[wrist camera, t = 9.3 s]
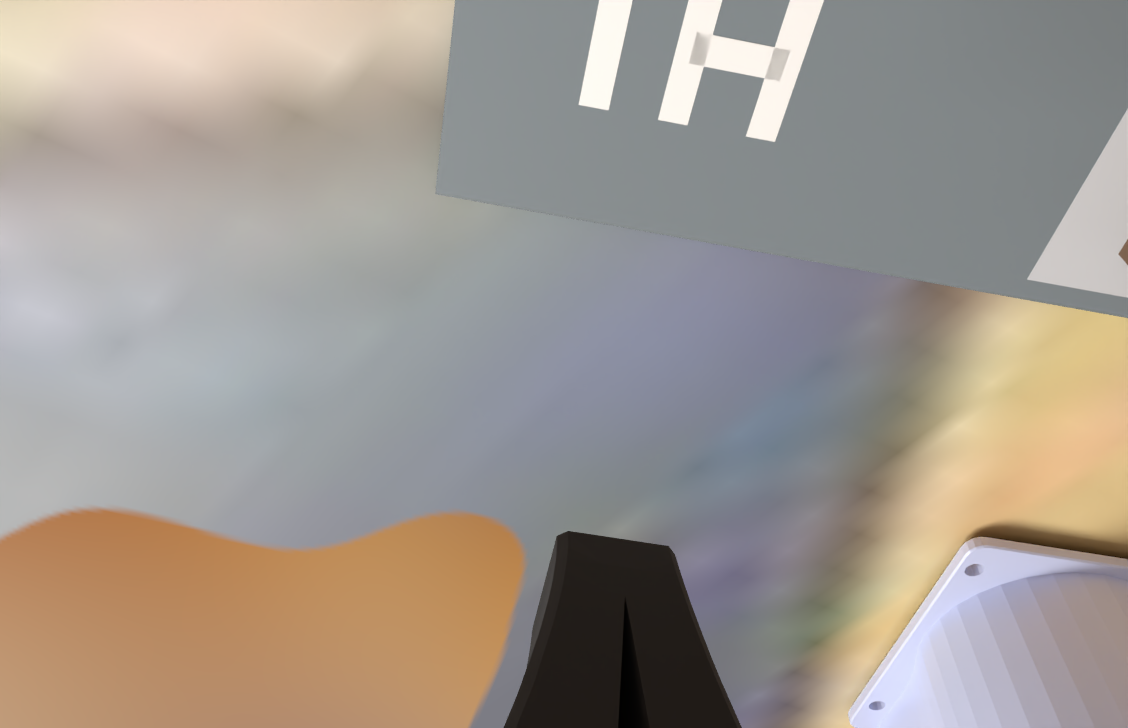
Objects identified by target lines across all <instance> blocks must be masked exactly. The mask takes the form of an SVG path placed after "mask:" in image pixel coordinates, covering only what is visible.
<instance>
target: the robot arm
mask: <svg viewBox="0 0 1128 728" xmlns="http://www.w3.org/2000/svg"><path fill="white" fill-rule="evenodd" d="M848 716H849V721H850V724H851V725H852V726H853V727H855V728H1128V559H1124V558H1117V557H1111V556H1104V555H1098V554H1092V553H1085V552H1079V551H1072V550H1066V549H1060V548H1053V547H1047V546H1040V545H1034V544H1027V543H1021V542H1015V541H1008V540H1002V539H995V538H989V537H976V538H972V539H970V540H968V541H966V542H965V543H964V544H963V545H962V546H961V548H960V549H959V551H958V552H957V554H956V555H955V556H954V558H953V559H952V561H951V562H950V564H949V565H948V567H947V568H946V570H945V571H944V573H943V574H942V575H941V577H940V578H939V580H938V581H937V583H936V584H935V586H934V587H933V589H932V590H931V591H930V593H929V594H928V596H927V597H926V599H925V600H924V602H923V603H922V605H921V606H920V608H919V609H918V610H917V612H916V613H915V615H914V616H913V618H912V619H911V621H910V622H909V624H908V625H907V626H906V628H905V629H904V631H903V632H902V634H901V635H900V637H899V638H898V640H897V641H896V643H895V644H894V645H893V647H892V648H891V650H890V651H889V653H888V654H887V656H886V657H885V659H884V660H883V661H882V663H881V664H880V666H879V667H878V669H877V670H876V672H875V673H874V675H873V676H872V678H871V679H870V680H869V682H868V683H867V685H866V686H865V688H864V689H863V691H862V692H861V694H860V695H859V696H858V698H857V699H856V701H855V702H854V704H853V705H852V707H851V708H850V710H849V712H848ZM504 728H742V727H741V725H740V723H739V721H738V718H737V716H736V714H735V711H734V709H733V707H732V705H731V702H730V700H729V698H728V696H727V693H726V691H725V689H724V687H723V684H722V682H721V680H720V677H719V675H718V672H717V670H716V668H715V665H714V663H713V660H712V658H711V655H710V653H709V650H708V648H707V645H706V642H705V640H704V637H703V635H702V632H701V630H700V627H699V624H698V622H697V619H696V616H695V613H694V611H693V608H692V605H691V602H690V600H689V597H688V594H687V591H686V588H685V585H684V582H683V579H682V576H681V573H680V570H679V567H678V563H677V560H676V557H675V554H674V553H673V551H672V550H671V549H670V548H669V546H664V545H657V544H651V543H644V542H637V541H631V540H624V539H618V538H611V537H604V536H598V535H591V534H584V533H578V532H571V531H567V532H565V533H563V534H560V535H558V536H557V538H556V541H555V545H554V549H553V553H552V557H551V560H550V564H549V568H548V572H547V576H546V579H545V583H544V587H543V591H542V595H541V598H540V602H539V606H538V610H537V614H536V617H535V621H534V625H533V630H532V638H531V646H530V652H529V658H528V664H527V669H526V672H525V675H524V678H523V681H522V684H521V686H520V689H519V692H518V694H517V697H516V699H515V702H514V704H513V707H512V709H511V712H510V714H509V716H508V719H507V721H506V723H505V726H504Z"/></svg>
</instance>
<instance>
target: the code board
mask: <svg viewBox="0 0 1128 728" xmlns="http://www.w3.org/2000/svg"><path fill="white" fill-rule="evenodd" d="M436 194H438V195H444V196H449V197H455V198H460V199H466V200H471V201H477V202H483V203H488V204H494V205H499V206H505V207H511V208H516V209H522V210H527V211H533V212H539V213H544V214H550V215H555V216H561V217H567V218H572V219H578V220H583V221H589V222H594V223H600V224H606V225H611V226H617V227H622V228H628V229H634V230H639V231H645V232H650V233H656V234H662V235H667V236H673V237H678V238H684V239H690V240H695V241H701V242H706V243H712V244H717V245H723V246H729V247H734V248H740V249H745V250H751V251H757V252H762V253H768V254H773V255H779V256H785V257H790V258H796V259H801V260H807V261H813V262H818V263H824V264H829V265H835V266H840V267H846V268H852V269H857V270H863V271H868V272H874V273H880V274H885V275H891V276H896V277H902V278H908V279H913V280H919V281H924V282H930V283H936V284H941V285H947V286H952V287H958V288H963V289H969V290H975V291H980V292H986V293H991V294H997V295H1003V296H1008V297H1014V298H1019V299H1025V300H1031V301H1036V302H1042V303H1047V304H1053V305H1059V306H1064V307H1070V308H1075V309H1081V310H1086V311H1092V312H1098V313H1103V314H1109V315H1114V316H1120V317H1126V318H1128V265H1127V264H1126V262H1125V261H1124V260H1123V259H1122V258H1121V257H1120V256H1119V252H1120V250H1121V249H1122V247H1123V246H1124V244H1125V243H1126V241H1127V239H1128V0H455V8H454V18H453V28H452V37H451V47H450V57H449V67H448V76H447V86H446V96H445V106H444V115H443V125H442V135H441V145H440V154H439V164H438V174H437V184H436Z"/></svg>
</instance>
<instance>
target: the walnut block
mask: <svg viewBox="0 0 1128 728" xmlns="http://www.w3.org/2000/svg"><path fill="white" fill-rule="evenodd" d="M1119 256H1120V257H1121V258H1122V259H1123V260H1124V261H1125V262H1126V264H1127V265H1128V239H1127V241H1126V243H1125V244H1124V246H1123V247H1122V249H1121V250H1120V252H1119Z"/></svg>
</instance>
